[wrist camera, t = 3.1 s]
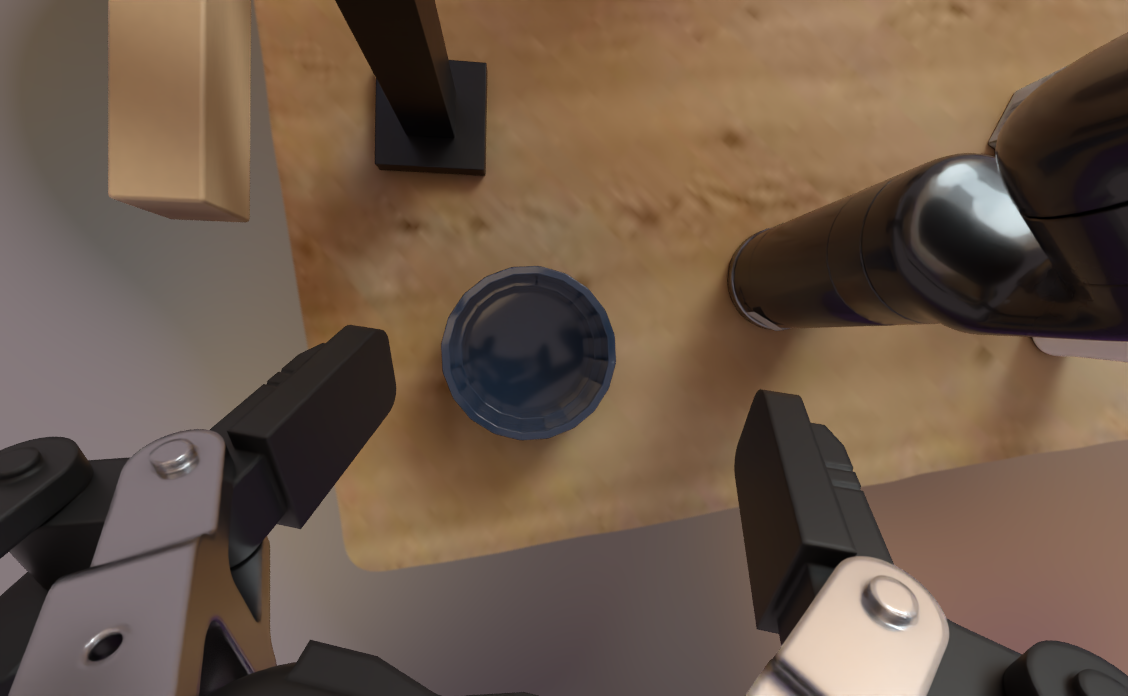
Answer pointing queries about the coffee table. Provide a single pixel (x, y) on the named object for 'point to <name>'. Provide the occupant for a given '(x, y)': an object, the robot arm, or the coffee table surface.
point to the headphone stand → (420, 89)
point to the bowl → (528, 353)
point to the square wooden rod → (180, 107)
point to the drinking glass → (1084, 348)
